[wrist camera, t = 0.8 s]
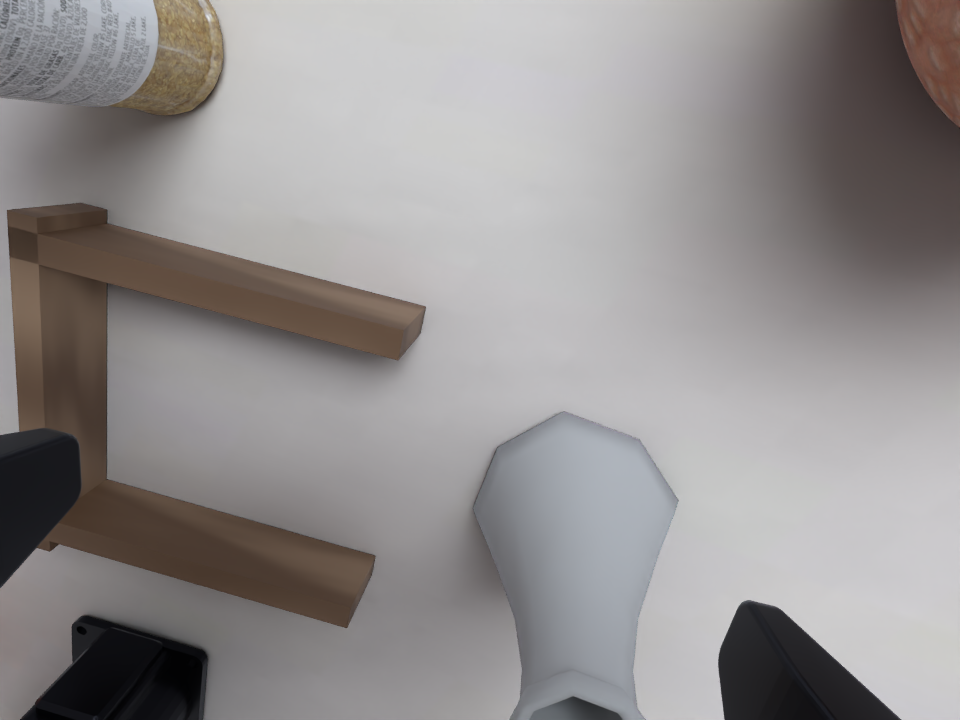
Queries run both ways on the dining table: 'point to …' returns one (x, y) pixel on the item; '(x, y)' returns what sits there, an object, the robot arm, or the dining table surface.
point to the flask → (575, 561)
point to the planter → (934, 48)
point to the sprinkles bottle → (110, 53)
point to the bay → (83, 397)
